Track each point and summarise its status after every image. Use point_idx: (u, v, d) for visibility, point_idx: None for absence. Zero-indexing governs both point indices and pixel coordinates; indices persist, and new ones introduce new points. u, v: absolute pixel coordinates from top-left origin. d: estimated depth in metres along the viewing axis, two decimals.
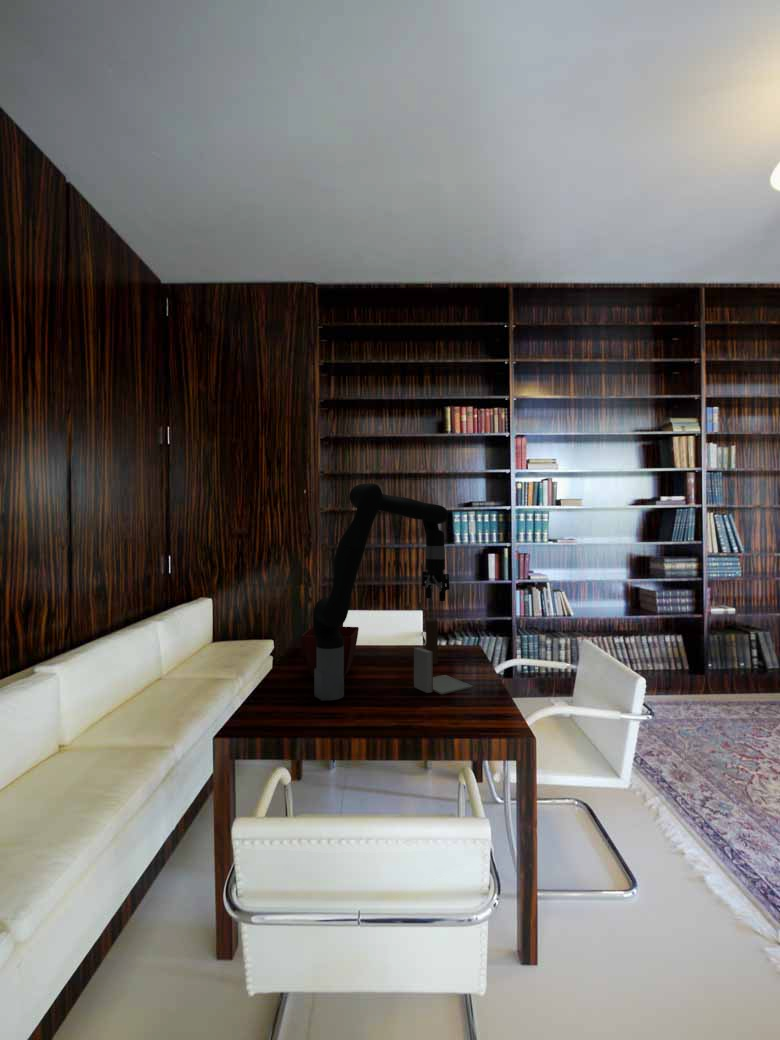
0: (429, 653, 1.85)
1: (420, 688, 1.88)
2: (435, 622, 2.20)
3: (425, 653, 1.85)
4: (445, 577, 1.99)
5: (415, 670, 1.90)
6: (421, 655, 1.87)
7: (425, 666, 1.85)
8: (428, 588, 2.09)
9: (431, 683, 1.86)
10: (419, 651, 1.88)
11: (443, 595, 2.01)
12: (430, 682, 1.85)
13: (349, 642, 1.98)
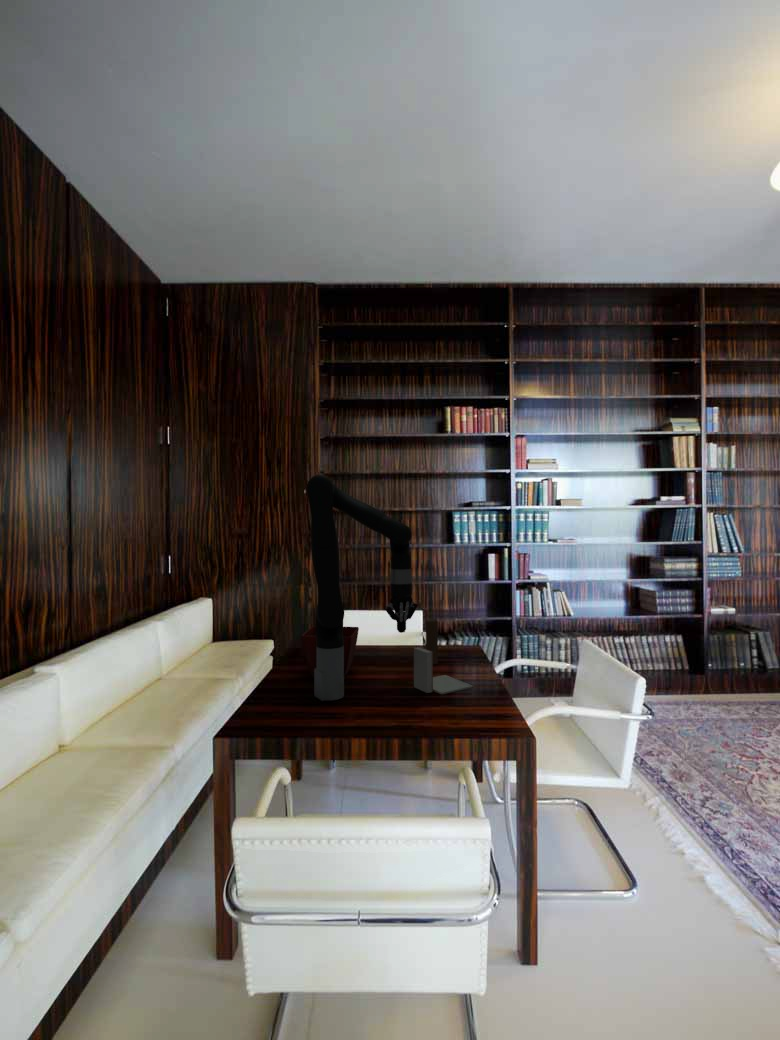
0: (429, 653, 1.85)
1: (420, 688, 1.88)
2: (435, 622, 2.20)
3: (425, 653, 1.85)
4: None
5: (415, 670, 1.90)
6: (421, 655, 1.87)
7: (425, 666, 1.85)
8: None
9: (431, 683, 1.86)
10: (419, 651, 1.88)
11: None
12: (430, 682, 1.85)
13: (349, 642, 1.98)
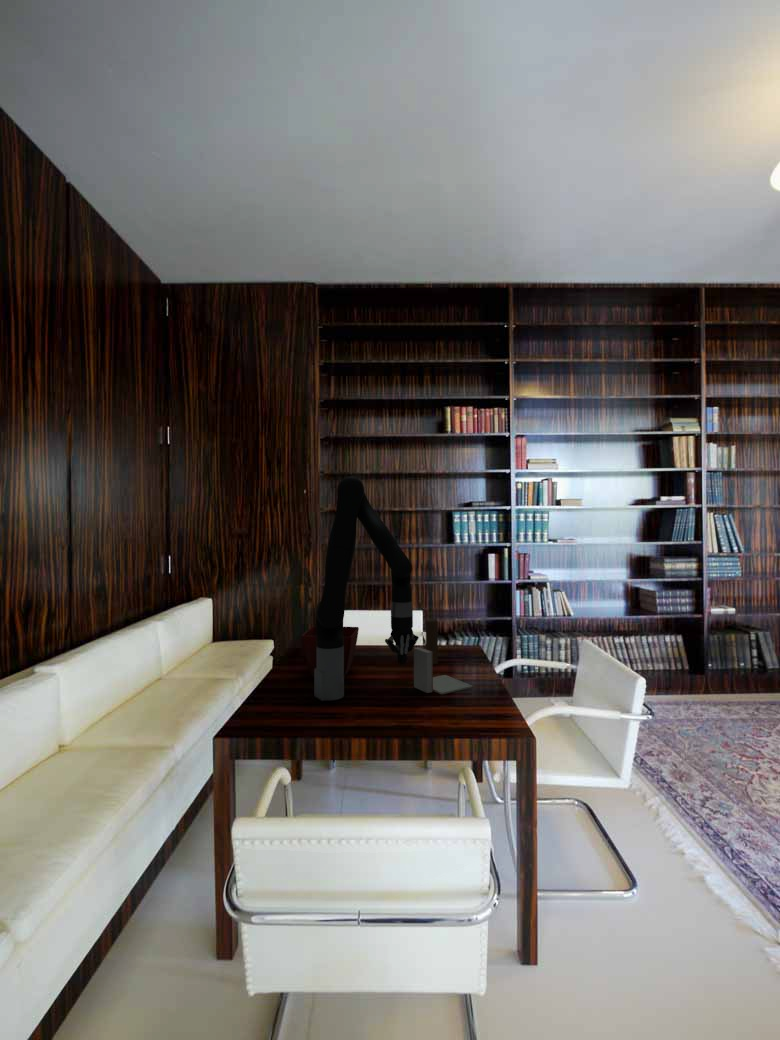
0: (429, 653, 1.85)
1: (420, 688, 1.88)
2: (435, 622, 2.20)
3: (425, 653, 1.85)
4: None
5: (415, 670, 1.90)
6: (421, 655, 1.87)
7: (425, 666, 1.85)
8: None
9: (431, 683, 1.86)
10: (419, 651, 1.88)
11: None
12: (430, 682, 1.85)
13: (349, 642, 1.98)
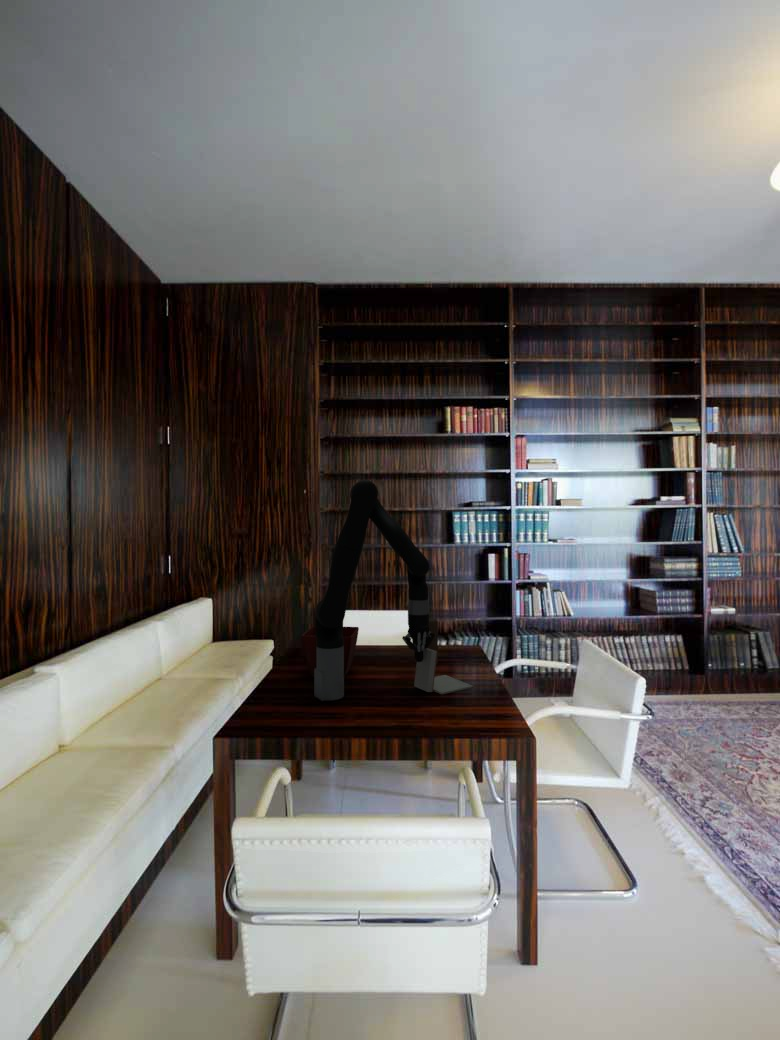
0: (434, 652, 1.86)
1: (420, 687, 1.88)
2: (435, 622, 2.20)
3: (430, 652, 1.86)
4: None
5: (417, 669, 1.91)
6: (425, 654, 1.88)
7: (428, 664, 1.86)
8: None
9: (432, 682, 1.86)
10: (424, 650, 1.89)
11: None
12: (431, 681, 1.86)
13: (349, 642, 1.98)
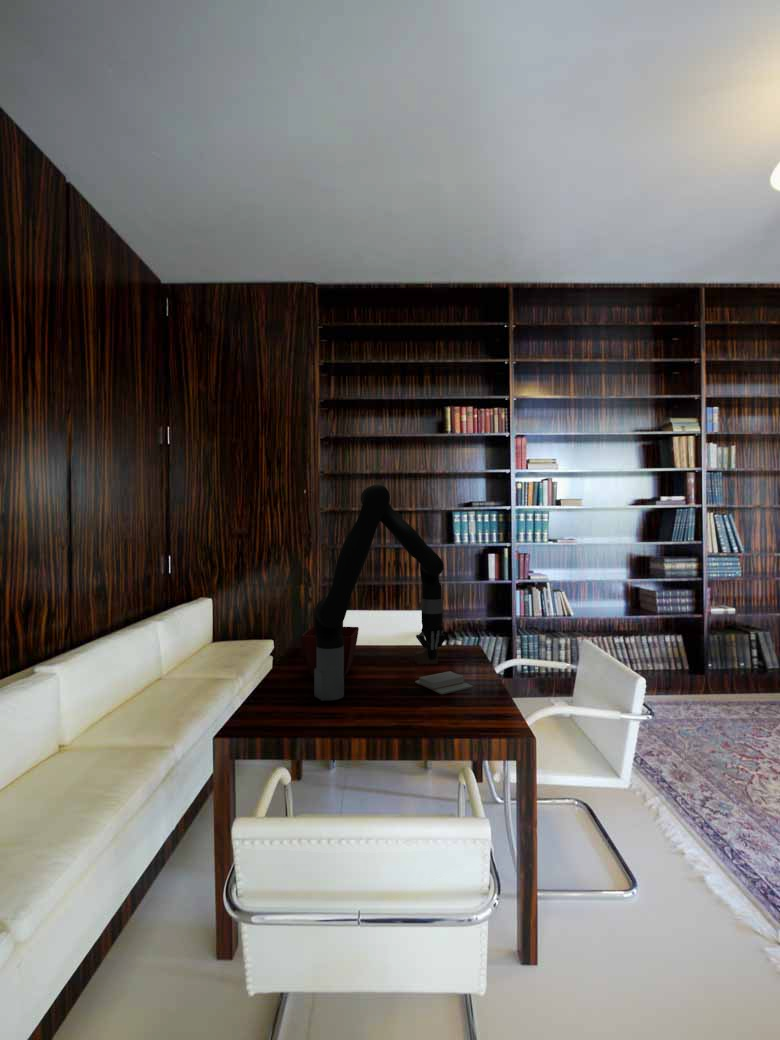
0: (462, 679, 1.93)
1: (427, 679, 1.89)
2: None
3: (461, 676, 1.94)
4: None
5: (434, 675, 1.95)
6: (454, 675, 1.95)
7: (451, 678, 1.91)
8: None
9: (439, 687, 1.87)
10: (454, 673, 1.97)
11: None
12: (440, 685, 1.88)
13: (349, 642, 1.98)
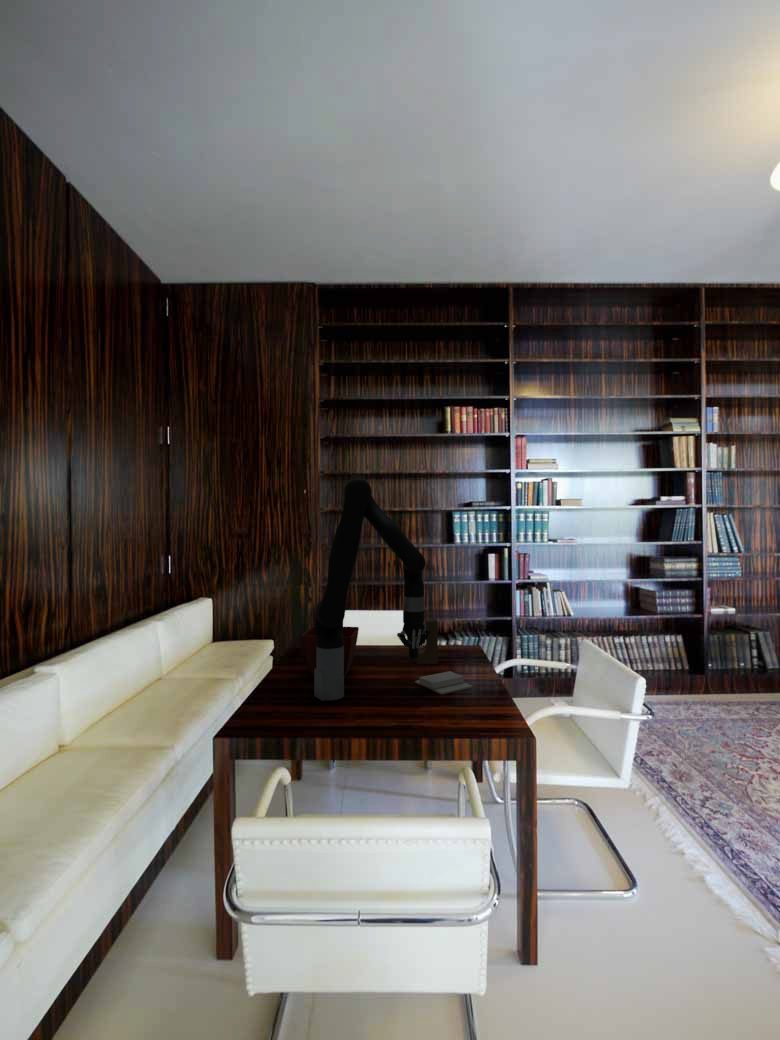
0: (462, 679, 1.93)
1: (427, 679, 1.89)
2: (435, 622, 2.20)
3: (461, 676, 1.94)
4: None
5: (434, 675, 1.95)
6: (454, 675, 1.95)
7: (451, 678, 1.91)
8: None
9: (439, 687, 1.87)
10: (454, 673, 1.97)
11: None
12: (440, 685, 1.88)
13: (349, 642, 1.98)
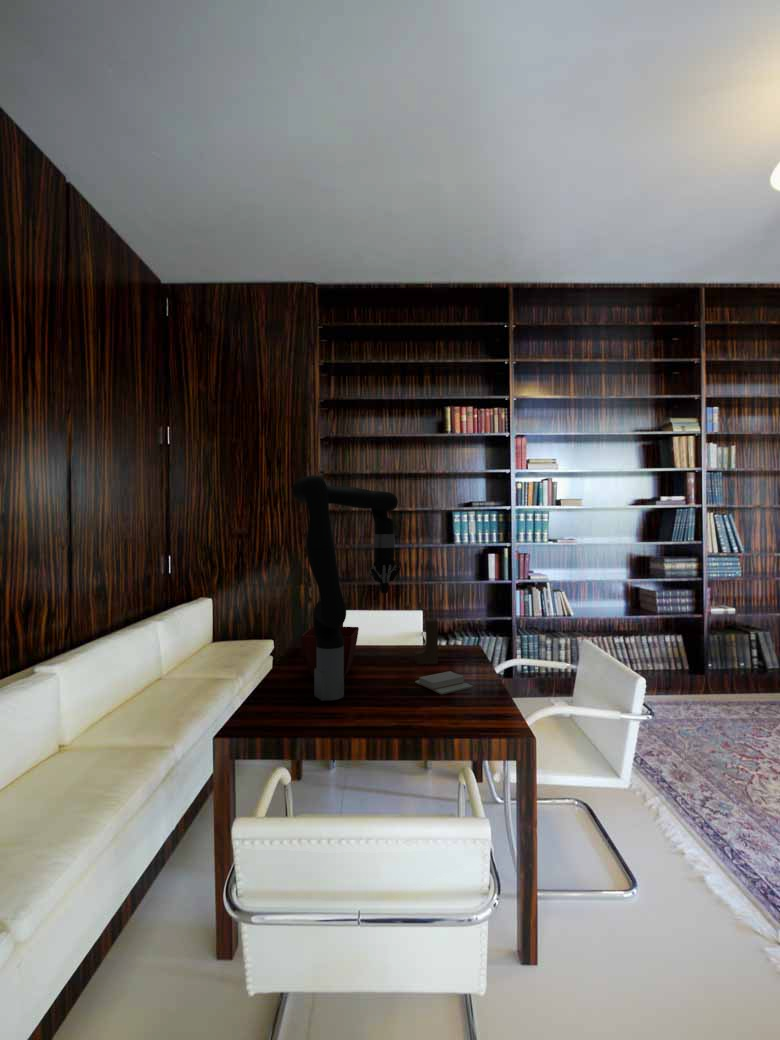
0: (462, 679, 1.93)
1: (427, 679, 1.89)
2: (435, 622, 2.20)
3: (461, 676, 1.94)
4: None
5: (434, 675, 1.95)
6: (454, 675, 1.95)
7: (451, 678, 1.91)
8: None
9: (439, 687, 1.87)
10: (454, 673, 1.97)
11: None
12: (440, 685, 1.88)
13: (349, 642, 1.98)
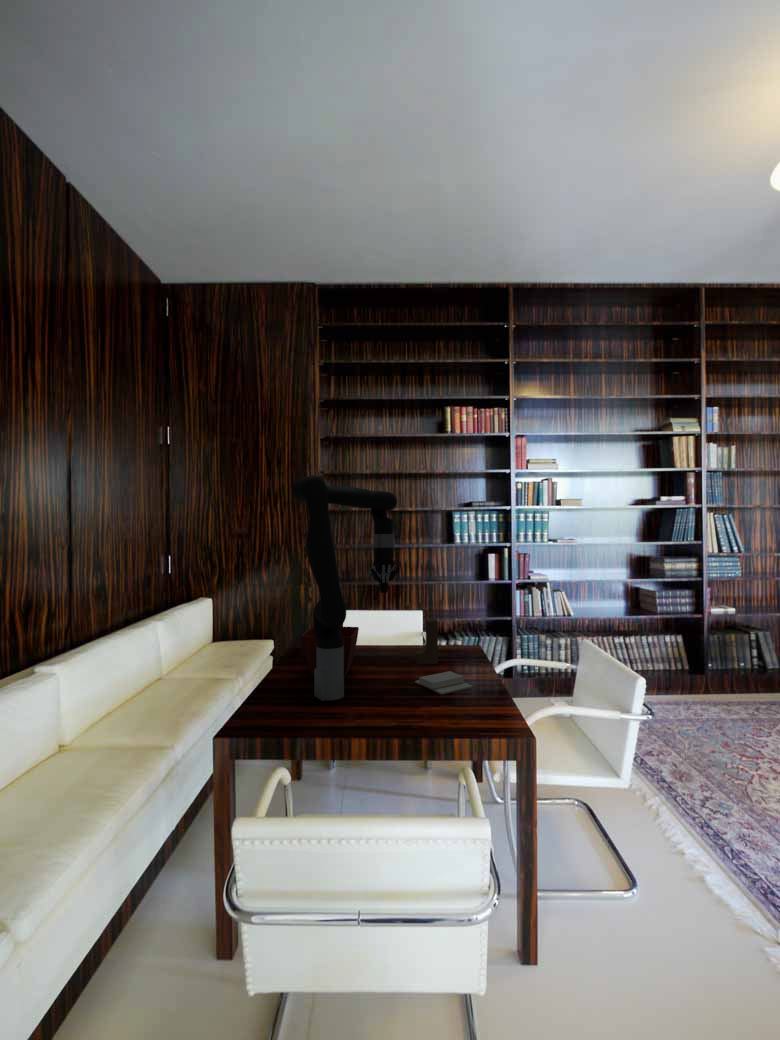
0: (462, 679, 1.93)
1: (427, 679, 1.89)
2: (435, 622, 2.20)
3: (461, 676, 1.94)
4: None
5: (434, 675, 1.95)
6: (454, 675, 1.95)
7: (451, 678, 1.91)
8: None
9: (439, 687, 1.87)
10: (454, 673, 1.97)
11: None
12: (440, 685, 1.88)
13: (349, 642, 1.98)
